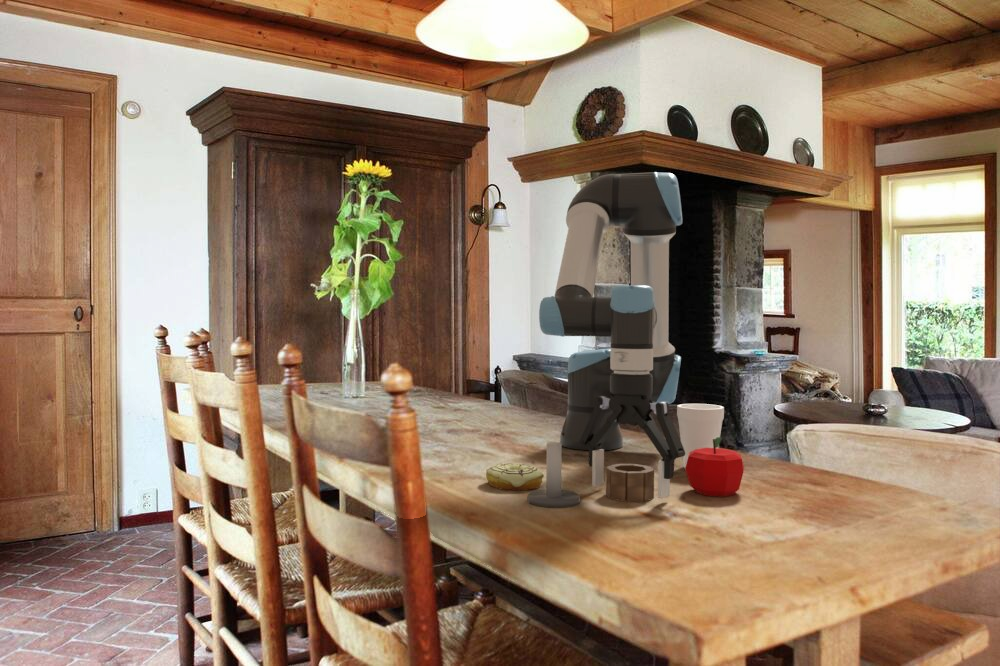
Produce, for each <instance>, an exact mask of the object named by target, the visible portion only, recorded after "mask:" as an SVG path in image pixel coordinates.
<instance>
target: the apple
mask: <svg viewBox="0 0 1000 666" xmlns="http://www.w3.org/2000/svg"><path fill="white" fill-rule="evenodd" d="M722 440H723V437H720V438H719V437H717V438H716V439H713V448H702V449H696V450H694V451H691V452H689V456H688V460H687V464H686V468H684V470H685V473H686V476H687V479H688V482H689V485H690V487H691V488H692V489H693V490H694V491H695V492H696V493H697V494H700V495H703V496H706V497H728V496H729V497H730V496H733V495H735V493H736V492H738V490H739V489H740V487H741V483H742V481H743V480H742V479H743V475H744V472H745V465H744V460H743V457H742V455H741V454H740V453H739V452H737V451H736V450H731V449H726V448H719V447H718V445H719V446H720V442H721V441H722ZM717 447H718V448H717Z"/></svg>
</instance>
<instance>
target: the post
mask: <svg viewBox="0 0 1000 666" xmlns="http://www.w3.org/2000/svg"><path fill="white" fill-rule="evenodd" d="M562 447H563V446H562V444H561V443H560V442H547V443H546V467H545V468H546V469H545V470H546V480H545V481H546V484H545V485H546V486H545V489H537V490H532V491H530V492H528V493H527V502H528V503H529V504H530V505H532V506H537V507H544V508H552V509H553V508H557V509H558V508H569V507H574V506H577V505H579V503H580V502H581V501H580V499H581V497H580V494H578V492H574V491H572V490H567V489H562V466H563V465H562V460H563V459H562V458H563V457H562V455H563V454H562V453H563V452H562V449H563V448H562Z"/></svg>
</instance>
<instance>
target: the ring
mask: <svg viewBox="0 0 1000 666" xmlns="http://www.w3.org/2000/svg"><path fill="white" fill-rule="evenodd" d="M605 469H606V472H605V473H606V479H605V484H606V485H605V487H606V488H605V489H606V490H605V495H606V496H607V497H608V499H610V500H615V501H621V502H627V503H629V502H630V503H632V502H633V503H634V502H635V503H637V502H639V503H640V502H642V503H643V502H647V501H650V500H652V499H654V498H655V469H654V468H653V467H651V466H649V465H644V464H636V463H615V464H611V465H608V466H606V467H605Z"/></svg>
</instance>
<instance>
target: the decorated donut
mask: <svg viewBox="0 0 1000 666" xmlns="http://www.w3.org/2000/svg"><path fill="white" fill-rule="evenodd" d="M485 473H486V474H485V476H486V477H485V478H486V480H487V482H488V483H489V485H490V486H491V487H493V488H496V489H499V490H509V491H512V490H513V491H528V490H533V489H539V488H540V486H541V485H542V484H543V478H544V477H545V476H544V475H545V474H544V473H543V471H542V470H541V469H540V468H539V467H536V466H534V465H529V464H525V463H519V462H518V463H516V462H503V463H502V462H501V463H497V464H495V465H491V466H489V467H488V468H486V470H485Z"/></svg>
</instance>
